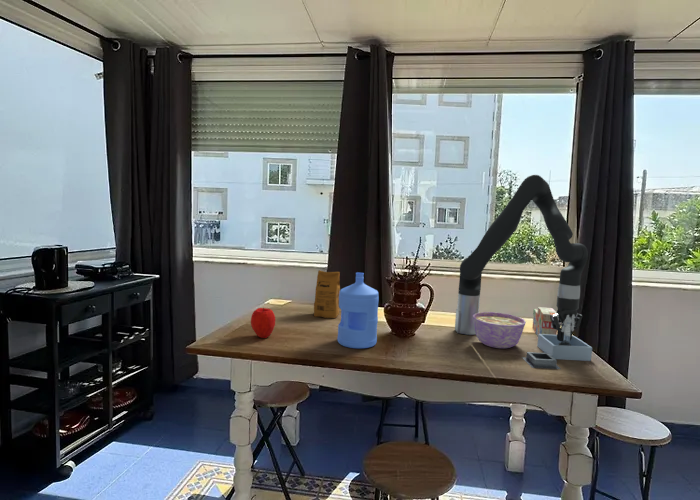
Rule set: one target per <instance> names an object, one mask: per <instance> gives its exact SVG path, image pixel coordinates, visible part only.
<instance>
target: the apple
mask: <svg viewBox="0 0 700 500" xmlns="http://www.w3.org/2000/svg"><path fill="white" fill-rule="evenodd" d="M250 325H251V329H252V330H253V332H254V333H255V334H256V335H257V337H258V338H261V339H267V338H269V337H270V336H271V334H272V333H273V331H274V330H275V329H274V328H275V326H276V315H275V313H274V311H273V310H272V309H271V308H266V307H258V308H257V309H255V310H254V311H253V312H252V314H251V318H250Z"/></svg>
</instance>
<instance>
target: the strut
mask: <svg viewBox="0 0 700 500" xmlns="http://www.w3.org/2000/svg"><path fill="white" fill-rule="evenodd" d="M561 323H563V322H561ZM571 323H572V318H571V317H570V316H569V319H568V320H567V325H566V326H565V328H564V331H563V332H564V338H563V341H560V343H559V345H564V346H572V345H571V344H570V331H571Z"/></svg>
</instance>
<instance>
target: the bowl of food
mask: <svg viewBox="0 0 700 500" xmlns="http://www.w3.org/2000/svg"><path fill="white" fill-rule="evenodd" d="M473 320H474V326H475V332H476V334H475V335H476V338H477V340H478V341H479V342H480V343H482V344H483V345H484V346H487V347H491V348H495V349H510V348H513V347H515V346H517V344H518V343H519V342H520V339H521V337H522V335H523V331H524V329H525V326H526V322H527V321H526V320H525V319H524V318H522V317H519V316H516V315H513V314H509V313H502V312H496V311H495V312H494V311H492V312H491V311H484V312H479V313H476V314H474V315H473Z"/></svg>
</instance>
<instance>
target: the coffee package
mask: <svg viewBox="0 0 700 500" xmlns="http://www.w3.org/2000/svg"><path fill="white" fill-rule="evenodd" d="M340 273H341V272H340V271H323V270H321V269H320V270H318V272H317V277H316V286H315V294H314V295H315V296H314V301H313V317H315V318H316V317H318V318H319V317H321V318H324V319H335V318H337V317H338V316H339V315H340V308H339V293H340V290H341V285H340V280H341V279H340Z"/></svg>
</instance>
